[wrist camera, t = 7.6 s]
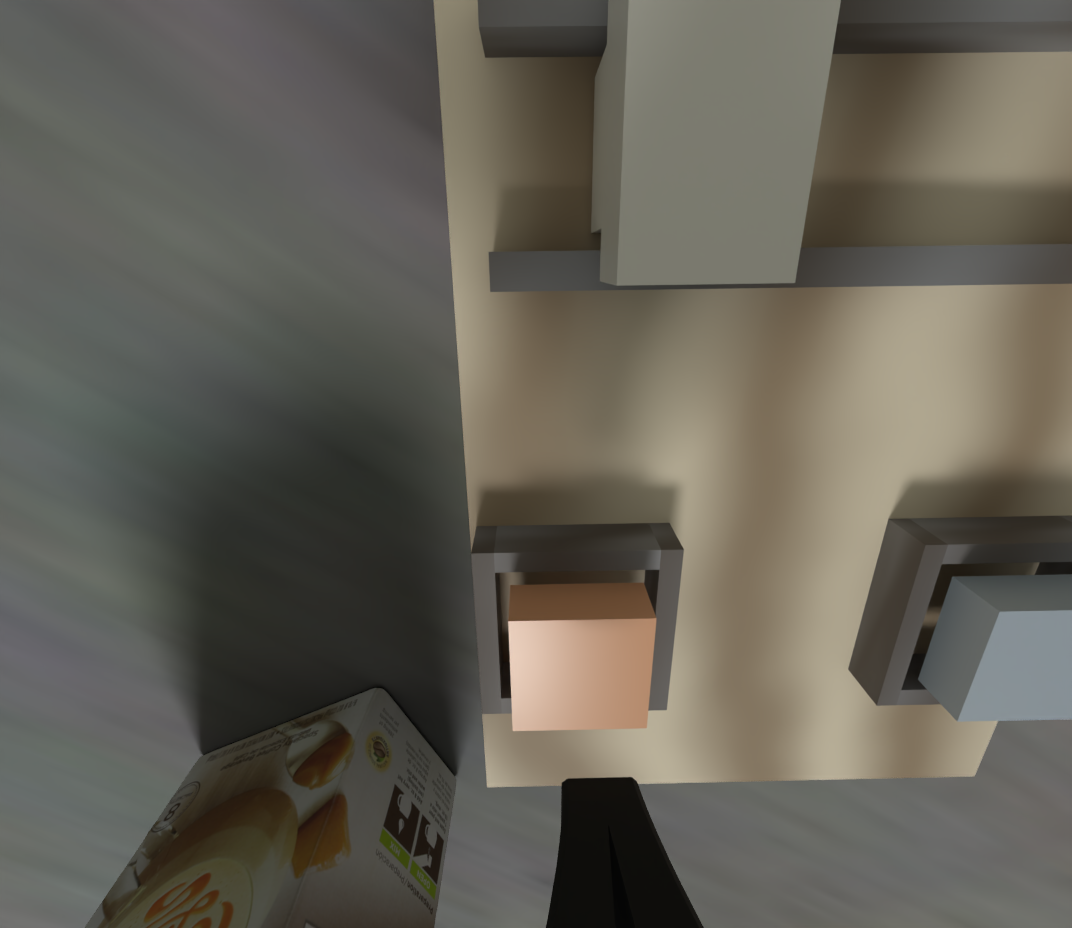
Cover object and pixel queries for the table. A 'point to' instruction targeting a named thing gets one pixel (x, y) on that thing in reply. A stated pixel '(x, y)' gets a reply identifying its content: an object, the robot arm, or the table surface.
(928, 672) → the grey button
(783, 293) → the control panel
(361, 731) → the coffee box
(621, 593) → the terracotta button
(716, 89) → the slider knob
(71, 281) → the table surface
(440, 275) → the table surface
